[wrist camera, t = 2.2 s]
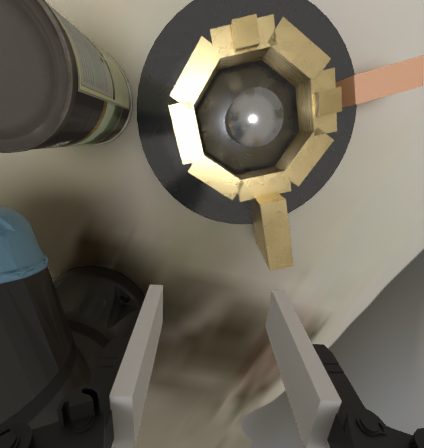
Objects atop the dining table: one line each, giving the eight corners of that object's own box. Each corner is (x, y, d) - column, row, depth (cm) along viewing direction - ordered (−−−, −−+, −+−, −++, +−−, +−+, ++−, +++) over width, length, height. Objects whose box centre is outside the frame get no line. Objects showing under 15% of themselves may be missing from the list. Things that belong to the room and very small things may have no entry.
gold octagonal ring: (160, 57, 25) (145, 28, 18) (312, 21, 24) (353, -22, 18) (207, 252, 32) (208, 282, 26) (324, 228, 31) (356, 253, 25)
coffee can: (126, 155, 30) (64, 170, 17) (37, 131, 29) (-106, 127, 16) (141, 60, 27) (79, -15, 13) (41, 28, 26) (-135, -88, 12)
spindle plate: (136, 206, 32) (119, 224, 26) (147, -28, 24) (126, -89, 18) (314, 229, 34) (340, 251, 27) (377, 18, 26) (436, -22, 20)
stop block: (321, 111, 29) (355, 104, 22) (318, 89, 28) (354, 75, 22) (372, 97, 29) (423, 85, 22) (371, 74, 28) (424, 55, 21)
